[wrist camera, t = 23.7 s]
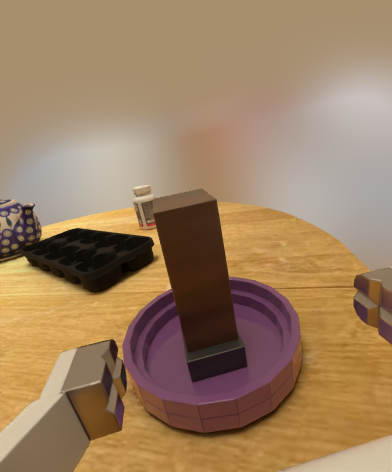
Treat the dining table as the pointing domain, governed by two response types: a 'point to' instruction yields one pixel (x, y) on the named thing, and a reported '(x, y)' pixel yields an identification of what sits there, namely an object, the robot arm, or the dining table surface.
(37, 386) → the dining table surface
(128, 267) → the black muffin tray
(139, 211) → the pill bottle
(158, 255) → the dining table surface
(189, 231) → the brown rectangular block
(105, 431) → the robot arm
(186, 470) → the dining table surface
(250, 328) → the purple round dish
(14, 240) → the teapot
